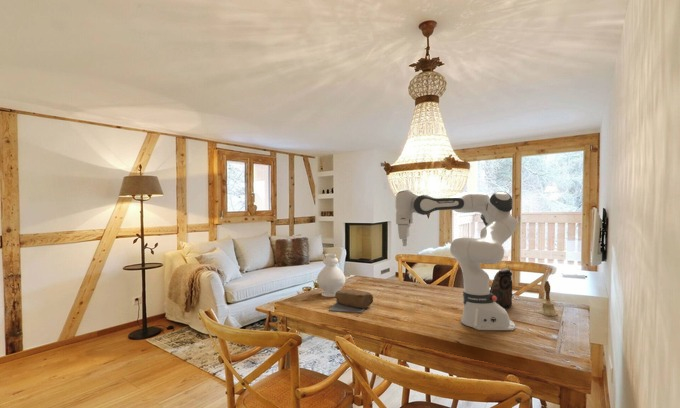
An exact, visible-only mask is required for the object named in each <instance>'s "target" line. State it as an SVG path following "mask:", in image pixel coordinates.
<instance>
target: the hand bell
mask: <svg viewBox="0 0 680 408" xmlns="http://www.w3.org/2000/svg"><path fill="white" fill-rule="evenodd" d="M543 289H544V292H545V301H542V306H541V309H539V311H538V313H539V315H543V316H547V317H557V316H559V313H558V312H557V311H556V309H555V305H554V303H553V302H552V301H551V296H550V292H551V284H550V283H549V280H545V282H544V286H543Z"/></svg>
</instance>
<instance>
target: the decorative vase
mask: <svg viewBox="0 0 680 408" xmlns="http://www.w3.org/2000/svg"><path fill="white" fill-rule="evenodd" d="M322 262H323V264H324V265H325V266H324V267H323V268H322V269H321V270H320V272H319V273H318V275H317V277H316V284H317V285H318V286H319V288H320V289H321V290H322V291H323V292H322V293H321V296H322V297H326V298H334V297H335V293H336V292H337V291H339V290H342V288H343V286H344V285H345V284H346V277H345V274H344V272H343V271H342V269H340V267H339V266H338V265H337V264H338V263H339V259H338V258H337V254H336V253H326V254H325V253H324V258H323V261H322ZM335 298H336V297H335Z"/></svg>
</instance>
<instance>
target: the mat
mask: <svg viewBox="0 0 680 408" xmlns="http://www.w3.org/2000/svg"><path fill="white" fill-rule="evenodd" d="M366 309H367V307H366V308H357V307H351V306H346V305H342V304H340V303H337V302H335V304H334V305H332V306H331V307H330V308H329V309H328V311H329V312H335V313H336V312H337V313H352V314H354V313H356V314H363V313H364V312H365V310H366Z"/></svg>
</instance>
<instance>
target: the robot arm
mask: <svg viewBox="0 0 680 408" xmlns="http://www.w3.org/2000/svg"><path fill="white" fill-rule="evenodd" d="M395 210H396V212H395V224H396V225H397V231H398V238H399V240H402V246H403V247H406V246H407V244H408V243H407V241H408V238H409V236H410V227H411V224H413V223H414V222H413V220H414V218H413V214H414V213H415V214H417V215H423V216H426V215H430V214H431V213H433V212H436V211H448V210H449V211H450V210H451V211H454V212H456V213H462V214H468V213H469V214H470V213H480V214H481V215H480V220H482V223H483V225H484V227H483V228H482V229H481V230H480V234H479V235H480V236H479V238H474V237H473V238H472V237H459V238H455V239H453V240H452V242H451V243H450V245H449V246H450V247H449V249H450V254H451V256H452V257H453V258H454V259H455V260H456V261H457V263H458V265H459V267H460V270H461V273H462V277H463V278H462V279H463V291H462V303H463V310H462V311H463V312H462V314H461V315H462V316H461V320H460V322H461V324H463V325H464V326H467V327H471V328H473V329H475V330H478V331H514V330H515V329H516V325H515V322H514V321H512V320H511V319H510V316H509V314H508V312H507V310H506V309H504V308H502V307H501V306H500V305H499V304H497V303H496V302H495V301H496V300H497V298H496V296H494V295H493V294H492V293H490V289H491V285H490V277H489V274H488V273H487V272H486V271H485V270H484V269H483V267H482V265H480V264H483V265H494V264H495V265H496V264H499V263H501V261H502V260H503V259H504V256H505V249H504V247H503V245H504V243H505V242H507V241H508V239H510V238H511V237H512V236H513V234H514V233H515V232H516V230H517V228H518V220H517V219H516V217H514V215H512V214H511V211H512V210H513V197H512V196H511V195H510V193H508V192H506V191H501V190H500V191H499V190H498V191H495V192H493V193H492V194H491V196H489V195H488V194H487V193H484V192H478V191H476V192H475V191H468V192H467V191H466V192H460V193H455V194H454V195H453V196H450V197H432V196H430V195H427V194H422V195H420V194H417V193H414V192H413V191H412V190H410V189H406V190H402V191H398V192H397V194H396V195H395Z"/></svg>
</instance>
